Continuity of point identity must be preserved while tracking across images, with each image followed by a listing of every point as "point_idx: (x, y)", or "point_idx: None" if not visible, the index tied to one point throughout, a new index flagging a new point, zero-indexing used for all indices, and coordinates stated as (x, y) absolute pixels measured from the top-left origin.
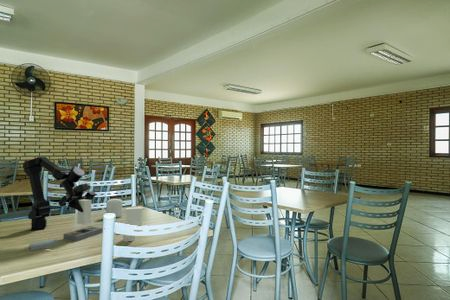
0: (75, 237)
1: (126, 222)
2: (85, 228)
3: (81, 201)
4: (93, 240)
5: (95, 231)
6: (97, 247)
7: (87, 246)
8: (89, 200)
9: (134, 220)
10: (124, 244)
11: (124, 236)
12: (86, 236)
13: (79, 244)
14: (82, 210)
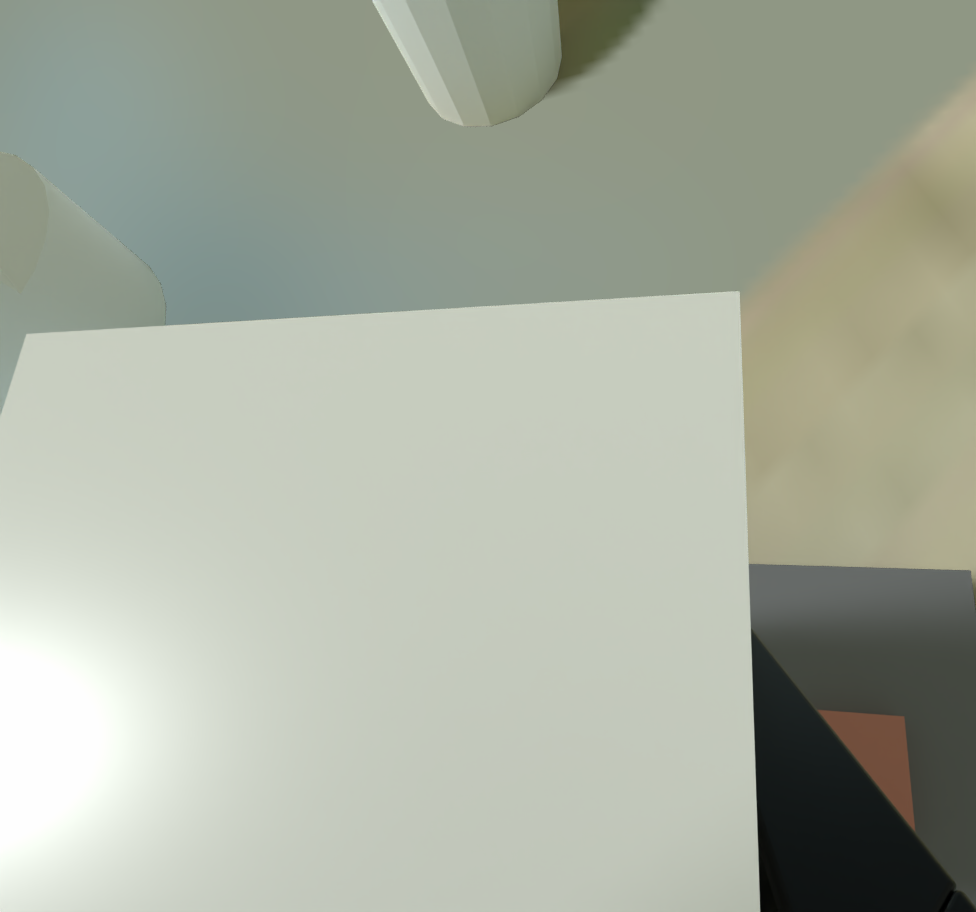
0: (966, 607)
1: None
2: None
3: (749, 857)
4: None
5: None
6: (908, 151)
7: (961, 289)
8: (203, 337)
9: (40, 179)
10: (647, 3)
11: (552, 13)
12: None
13: (968, 467)
14: (755, 641)
